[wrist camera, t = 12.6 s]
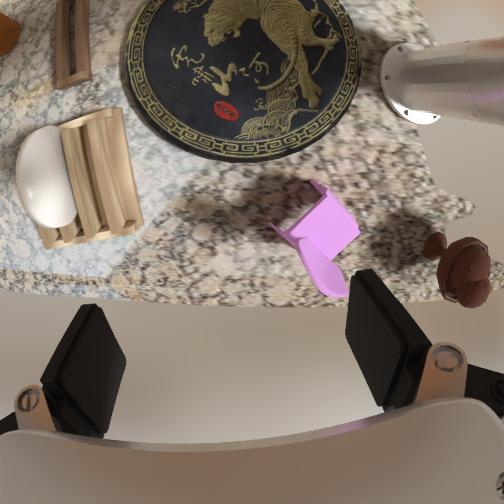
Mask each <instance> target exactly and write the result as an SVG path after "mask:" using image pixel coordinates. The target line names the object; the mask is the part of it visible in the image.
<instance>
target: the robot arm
mask: <svg viewBox="0 0 504 504" xmlns="http://www.w3.org/2000/svg"><path fill="white" fill-rule="evenodd" d="M379 74H380V83H381V88H382V90H383V93H384V96H385V98H386V99H387V101H388V103H389V105H390V106H391V107H392V109H393V110H394V111H395V112H396V113H397V114H398V115H399V116H400V117H402V118H403V119H405V120H407V121H409V122H411V123H415V124H424V125H425V124H430V123H433V122H435V121H436V120H437V119H439V118H440V117H441V116H443V117H451V118H458V119H465V120H471V121H477V122H483V123H488V124H493V125H499V126H504V37H500V38H491V39H481V40H473V41H465V42H459V43H452V44H447V45H441V46H435V47H430V48H423V47H422V46H420V45H417V44H414V43H400V44H397V45H394V46H392V47H391V48H389V49H388V50H387V51H386V52H385V54H384V56H383V58H382V60H381V64H380V71H379ZM385 78H386V79H385ZM345 335H346V339H347V341H348V343H349V345H350V347H351V350H352V352H353V354H354V356H355V358H356V360H357V362H358V365H359V367H360V369H361V371H362V373H363V375H364V377H365V379H366V382H367V384H368V386H369V388H370V391H371V393H372V395H373V397H374V400H375V402H376V404H377V405H378V406H379V407H380V406H382V407H383V410H384V413H381V414H378V415H375V416H371V417H368V418H364V419H360V420H357V421H353V422H349V423H344V424H340V425H336V426H332V427H328V428H323V429H319V430H314V431H309V432H303V433H298V434H292V435H286V436H279V437H273V438H265V439H257V440H247V441H238V442H237V441H236V442H222V443H202V444H201V443H200V444H166V443H142V442H129V441H118V440H109V439H103V437H104V433H107V431H108V429H109V424H110V420H111V416H112V412H113V408H114V405H115V401H116V397H117V394H118V390H119V387H120V383H121V380H122V376H123V373H124V370H125V366H126V358H125V355H124V353H123V352H122V350H121V348H120V346H119V344H118V342H117V340H116V338H115V336H114V334H113V332H112V330H111V328H110V325H109V323H108V321H107V319H106V317H105V315H104V312H103V310H102V309H101V308H100V307H98V306H97V305H96V304H84V305H81V307H80V308H79V310H78V312H77V313H76V315H75V316H74V318H73V320H72V322H71V323H70V325H69V327H68V328H67V330H66V332H65V334H64V336H63V337H62V339H61V341H60V343H59V344H58V346H57V348H56V350H55V352H54V354H53V356H52V357H51V359H50V361H49V363H48V365H47V367H46V369H45V371H44V373H43V375H42V377H41V379H40V381H41V383H42V384H43V387H42V388H40V387H39V386H37V385H29V386H27V387H25V388H23V389H22V390H21V391H20V392H19V393H18V395H17V396H16V398H15V402H14V408H15V412H13V413H11V414H10V415H8V416H6V417H5V418H3V419H2V420H0V504H504V374H502V373H499V372H495V371H491V370H488V369H484V368H481V367H477V366H474V365H471V364H468V361H467V356H466V354H465V352H464V351H463V350H462V349H461V348H460V347H459V346H457V345H456V344H453V343H450V342H439V343H436V344H434V345H432V343H431V342H430V341H429V339H428V338H427V337H426V335H425V334H424V333H423V331H422V330H421V329H420V327H419V326H418V325H417V323H416V322H415V321H414V319H413V318H412V317H411V316H410V314H409V313H408V312H407V310H406V309H405V308H404V307H403V305H402V304H401V303H400V302H399V301H398V300H397V299H396V298H395V296H394V295H393V294H392V293H391V291H390V290H389V289H388V288H387V286H386V285H385V284H384V283H383V282H382V280H381V279H380V278H379V277H378V275H377V274H376V273H375V272H374V271H373V270H372V269H365V270H359V271H356V273H355V275H353V276H352V277H351V282H350V293H349V303H348V313H347V322H346V329H345Z"/></svg>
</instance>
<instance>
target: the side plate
mask: <svg viewBox="0 0 504 504" xmlns="http://www.w3.org/2000/svg"><path fill="white" fill-rule="evenodd" d="M61 131H63V130H61V129H60V128H58V127H56V126H45V127H43V128H40V129H38V130H36V131H34V132H32V133H31V134H29V135H28V136H27V137H26V139H25V140H24V142H23V143H22V145H21V147H20V150H19V153H18V156H17V161H16V185H17V190H18V194H19V197H20V200H21V203H22V205H23V207H24V209H25V211H26V213H27V214H28V216H29V217H30V218H31V219H32V220H33V221H34V222H35V223H36V224H37V225H39V226H40V227H42V228H45V229H55V228H59V227H63V226H66V225H68V224H69V223H71V222H72V221H73V219H74V218H75V216H76V214H77V212H78V209H77V205H76V201H75V198H74V194H73V190H72V185H71V181H70V177H69V172H68V167H67V163H66V158H65V152H64V147H63V141H62V135H61Z"/></svg>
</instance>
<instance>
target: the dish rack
mask: <svg viewBox="0 0 504 504" xmlns="http://www.w3.org/2000/svg"><path fill="white" fill-rule="evenodd" d="M57 127H58V128H60V129H61V130H63V131H61V135H62V141H63V147H64V152H65V158H66V163H67V167H68V172H69V177H70V181H71V185H72V190H73V194H74V198H75V201H76V205H77V209H78V212H77V214H76V216H75V218H74V219H73V221H72V222H71V223H69V224H68V225H66V226H63V227H59V228H55V229H45V228H42V227H40V226H39V225H37V227H38V230H39V233H40V236H41V239H42V242H43V244H44V247H45V249H46V250H49V249H54V248H59V247H64V246H69V245H75V244H80V243H85V242H91V241H96V240H102V239H108V238H113V237H119V236H125V235H131V234H134V233H135V231H136V230H137V229H138V227H142V226H143V224H144V220H143V216H142V212H141V208H140V203H139V199H138V194H137V190H136V185H135V180H134V175H133V170H132V165H131V160H130V154H129V148H128V143H127V137H126V130H125V124H124V117H123V110H122V108H116V109H114V108H107V109H104V110H101V111H98V112H95V113H92V114H89V115H86V116H83V117H80V118H78V119H75V120H72V121H69V122H67V123H64V124H62V125H59V126H57ZM23 142H24V141H23ZM23 142H21V143H19V144H18V146H19V150H20V147H21V145H22V143H23Z"/></svg>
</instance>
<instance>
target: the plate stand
mask: <svg viewBox="0 0 504 504" xmlns="http://www.w3.org/2000/svg"><path fill="white" fill-rule="evenodd" d="M75 1H76V3H75V58H76V74H73V75H71V65H70V4H71V3H73V2H75ZM55 63H56V81H57V89H68V88H71V87H73V86H76V85H78V84H81V83H83V82H86V81H89V80H91V79H92V76H91V62H90V42H89V0H57V5H56V22H55Z"/></svg>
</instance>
